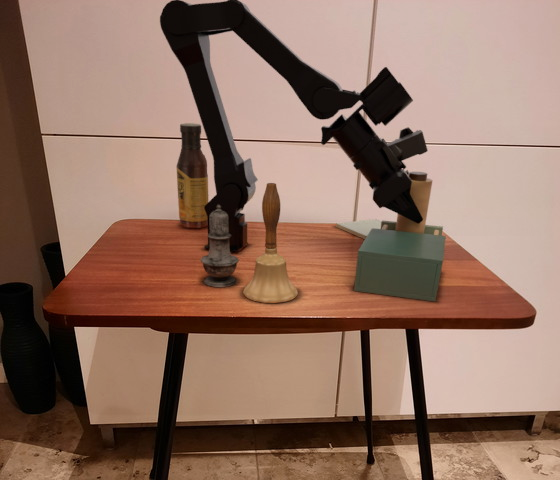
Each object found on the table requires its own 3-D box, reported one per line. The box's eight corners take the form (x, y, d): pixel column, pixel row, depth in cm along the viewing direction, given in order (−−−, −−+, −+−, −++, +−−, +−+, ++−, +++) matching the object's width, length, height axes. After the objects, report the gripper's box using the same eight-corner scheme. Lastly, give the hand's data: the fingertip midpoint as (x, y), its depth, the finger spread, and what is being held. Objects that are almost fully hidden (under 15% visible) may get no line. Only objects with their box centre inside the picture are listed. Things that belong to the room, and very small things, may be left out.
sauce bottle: (180, 222, 118) (174, 121, 109) (209, 222, 119) (206, 122, 109) (178, 230, 113) (172, 124, 103) (209, 230, 113) (206, 125, 104)
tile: (365, 239, 111) (366, 235, 111) (335, 226, 119) (336, 223, 119) (407, 234, 116) (408, 230, 115) (376, 222, 124) (376, 219, 124)
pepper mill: (391, 253, 97) (401, 174, 90) (394, 245, 101) (404, 169, 94) (419, 256, 96) (432, 176, 89) (421, 249, 100) (434, 172, 93)
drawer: (381, 239, 108) (384, 215, 106) (439, 246, 106) (443, 221, 103) (368, 265, 94) (372, 237, 91) (435, 273, 91) (440, 245, 89)
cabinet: (367, 264, 97) (371, 228, 94) (439, 272, 94) (445, 235, 91) (353, 290, 85) (358, 250, 82) (435, 301, 82) (443, 260, 79)
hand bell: (242, 302, 79) (241, 188, 71) (244, 283, 86) (244, 177, 78) (299, 304, 79) (305, 190, 71) (296, 284, 86) (301, 179, 79)
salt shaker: (233, 289, 83) (232, 209, 78) (196, 285, 84) (193, 206, 79) (242, 277, 88) (242, 201, 83) (208, 273, 89) (205, 198, 84)
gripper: (405, 114, 80) (467, 197, 84) (400, 107, 96) (452, 177, 100) (346, 168, 84) (408, 244, 88) (350, 152, 100) (402, 217, 105)
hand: (419, 218), depth 95 cm, fingers closed on pepper mill, 5 cm apart
